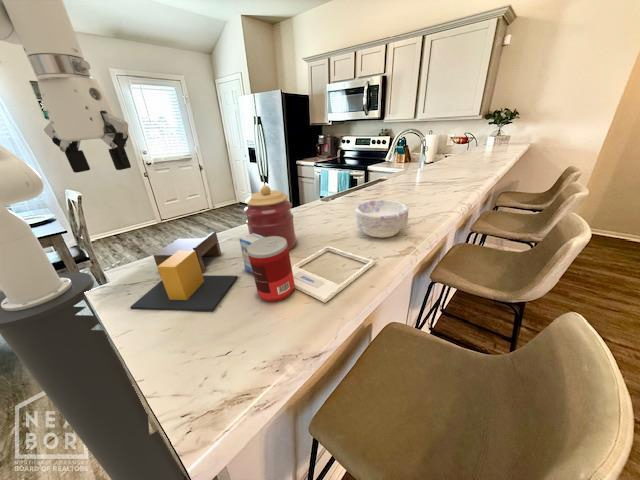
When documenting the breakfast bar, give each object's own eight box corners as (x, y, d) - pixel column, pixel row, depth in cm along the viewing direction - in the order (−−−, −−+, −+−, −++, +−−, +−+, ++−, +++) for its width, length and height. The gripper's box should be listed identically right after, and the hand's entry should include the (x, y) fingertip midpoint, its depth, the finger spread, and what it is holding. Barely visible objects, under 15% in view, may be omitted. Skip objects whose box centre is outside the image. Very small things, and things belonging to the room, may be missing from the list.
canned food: (298, 279, 59) (291, 235, 54) (289, 303, 52) (279, 255, 47) (266, 279, 60) (256, 236, 55) (252, 302, 53) (240, 255, 48)
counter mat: (131, 309, 54) (129, 306, 54) (168, 277, 65) (167, 275, 64) (212, 311, 51) (212, 309, 51) (237, 277, 62) (237, 275, 62)
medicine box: (245, 270, 65) (238, 238, 61) (259, 262, 68) (253, 231, 64) (265, 280, 60) (258, 246, 56) (279, 271, 63) (274, 239, 59)
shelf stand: (159, 272, 67) (150, 248, 64) (182, 254, 76) (175, 232, 73) (203, 272, 65) (195, 247, 62) (221, 254, 74) (215, 231, 71)
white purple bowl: (392, 247, 70) (393, 219, 67) (345, 235, 80) (344, 210, 76) (415, 228, 81) (417, 203, 77) (371, 219, 90) (372, 197, 87)
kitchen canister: (284, 233, 85) (276, 178, 77) (305, 246, 75) (298, 184, 67) (245, 245, 78) (232, 186, 71) (262, 261, 68) (249, 195, 61)
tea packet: (169, 299, 55) (156, 266, 51) (188, 281, 61) (178, 250, 58) (187, 300, 54) (175, 266, 51) (204, 281, 60) (195, 250, 57)
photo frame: (276, 274, 60) (327, 245, 71) (276, 278, 60) (327, 248, 72) (324, 298, 50) (374, 260, 62) (325, 302, 51) (374, 264, 63)
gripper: (122, 69, 48) (154, 164, 56) (44, 79, 51) (83, 169, 58) (85, 62, 42) (126, 171, 49) (-4, 73, 44) (47, 176, 51)
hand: (103, 170), depth 53 cm, fingers open, 9 cm apart
